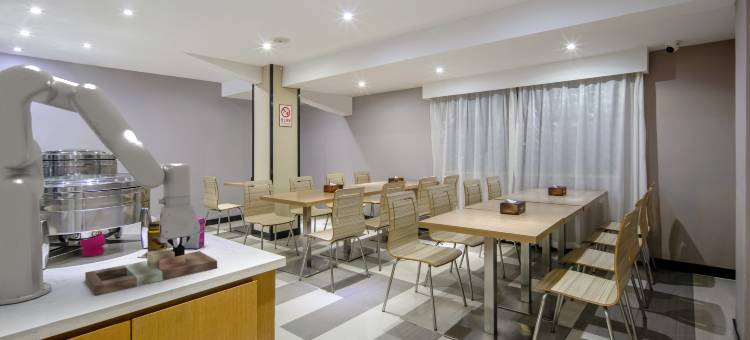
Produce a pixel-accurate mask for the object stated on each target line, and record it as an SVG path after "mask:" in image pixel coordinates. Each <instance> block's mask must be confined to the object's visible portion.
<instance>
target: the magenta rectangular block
mask: <svg viewBox="0 0 750 340" xmlns="http://www.w3.org/2000/svg"><path fill="white" fill-rule="evenodd" d="M105 244H106V238H105V235H104V234H103V233H102V231H101V232H100V234H99V235H98V236H95V237H93V238H91V239H87V240H81V239H80V241H79V246H80V247H81V248H82V249H83V250H82V252H81V253H82V254H81V255H83V257H85V256H89V257H96V255H97V256H100V254H101V255H103V254H104V253H105V248H104V245H105Z"/></svg>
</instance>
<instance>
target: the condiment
mask: <svg viewBox="0 0 750 340" xmlns="http://www.w3.org/2000/svg"><path fill="white" fill-rule="evenodd" d="M159 223H160V221H156V222H153V221H150V222H149V223H148V224H147V225H148V227H147V228H148V230H147V235H146V237H147V251H146V252H145V253H144V254H142V255H140V256H138V257H137V259H138V258H139V259H140V258H142V259H143V258H147V252H151V251H157V250H163V249H168V248H167V243H161V242H160V241H159V239H160V234H159Z"/></svg>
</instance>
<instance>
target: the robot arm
mask: <svg viewBox="0 0 750 340" xmlns="http://www.w3.org/2000/svg"><path fill="white" fill-rule="evenodd" d="M32 103H37V104H41V105H44V106H49V107H53V108H56V109H60V110H65V111H67V112H73V113H77V114H78V115H79V117H80V118H81V119H82V120H83V122H85V124H86V125H87V126H88V127H89V129H90V130H91V131H92V132H93V133H94V134H95V136H96V137H97V138H98V140H99V141H100V143H102V144H103V146H104V147H105V148H106V150H108V151H109V152H111V154H113V155H114V157H115V158H116V159H117V160H118V161H119V162H120V164H121V165H122V166H123V168H125V170H126V171H127V172H128V174H129V175H130V177H132V179H134V181H135V182H136V184H137V185H138V186H139V187H140V188H141V187H142V188H143V189H146V190H147V189H148V190H151V189H157V188H159V187H160V186H161V185H162V186H163V190H162V191H163V197H162V198H161V199H158V204H160V205H163V206H161V209H160V213H159V214H160V223H159V234H160V239H159V241H160V242H161V243H169V244H171V245H172V249H173V252H175V257H176V256H182V255H185V254H186V252H185V250H186V249H185V245H186V243H187V242H188V241H189V240H190V239H192V238H194V237H196V236H197V235H196V233H197V221H196V218H197V215H196V210H195V206H194V204H192V203H191V174H190V173H191V169H190V165H189V163H187V162H168V163H159V162H158V161H157V160H156V159H155V158H154V156H153V155H152V154H151V152H150V151H149V149H148V148H147V147H146V146H145V143H143V142H142V141H141V139H140V138H139V136H138V135H137V133H136V131H135V130H134V129H133V127H132V126H131V125H130V124H129V123H128V121H127V120H126V119H125V117H124V115H123V114H122V113H121V112H120V111H119V109H118V108H117V106H115V104H114V102H112V100H111V99H110V97H109V96H108V95H107V94H106V92H105V91H104V90H103V89H102V88H101V87H100V86H98V85H97V84H94V83H90V82H89V83H88V82H84V83H77V82H73V81H69V80H66V79H62V78H59V77H56V76H54V75H51V73H49V72H48V71H46V70H45V69H43V68H42V67H41V66H40V67H39V66H37V65H33V64H18V65H17V64H16V65H13V66H9V67H7V68H4V69H2V70H0V305H2V306H3V305H10V304H11V305H12V304H16V303H21V302H22V303H23V302H26V301H30V300H34V299H36V298H38V297H41V296H44V295H47V294H48V293H49V292H50V291H51V290H52V284H51V283H49V282H44V266H43V265H44V264H43V242H42V241H43V239H42V238H43V237H42V221H41V212H40V211H41V210H40V200H41V199H42V197H43V196H44V193H45V178H44V166H43V154H42V153H43V152H42V149H41V146H40V144H39V142H38V141H36V139H34V135H33V127H32V125H33V124H32V122H33V119H32V111H31V107H32V106H31V105H32ZM178 239H179V242H178Z"/></svg>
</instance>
